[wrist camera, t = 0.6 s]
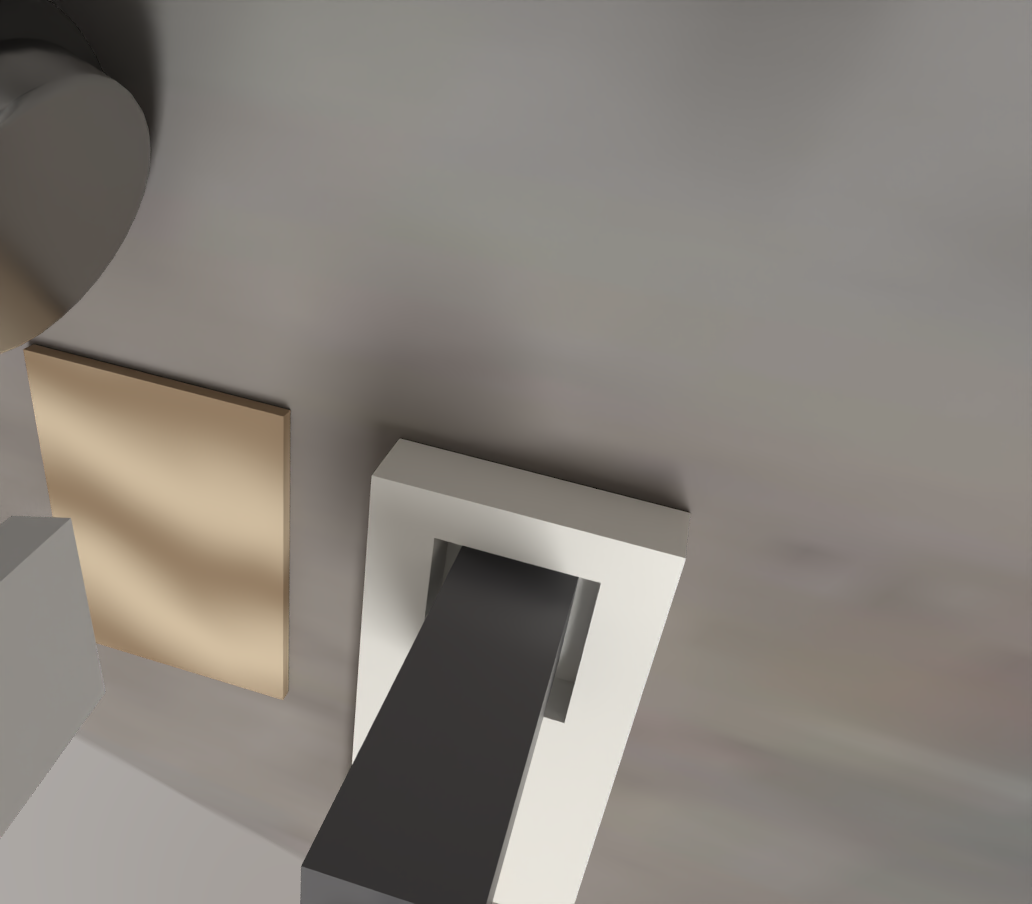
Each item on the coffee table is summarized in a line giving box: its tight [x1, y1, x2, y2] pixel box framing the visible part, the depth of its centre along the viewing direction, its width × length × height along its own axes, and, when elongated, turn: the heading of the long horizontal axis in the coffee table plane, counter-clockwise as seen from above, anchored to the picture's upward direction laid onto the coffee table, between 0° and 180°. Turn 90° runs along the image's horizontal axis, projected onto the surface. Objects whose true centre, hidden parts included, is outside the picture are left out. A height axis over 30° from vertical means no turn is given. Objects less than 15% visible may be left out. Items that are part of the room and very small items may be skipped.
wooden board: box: [23, 344, 290, 700], centre depth 33 cm, size 14×10×1 cm
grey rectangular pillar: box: [300, 545, 579, 904], centre depth 24 cm, size 5×4×15 cm
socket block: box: [352, 438, 691, 904], centre depth 32 cm, size 20×10×3 cm, turn 171°
